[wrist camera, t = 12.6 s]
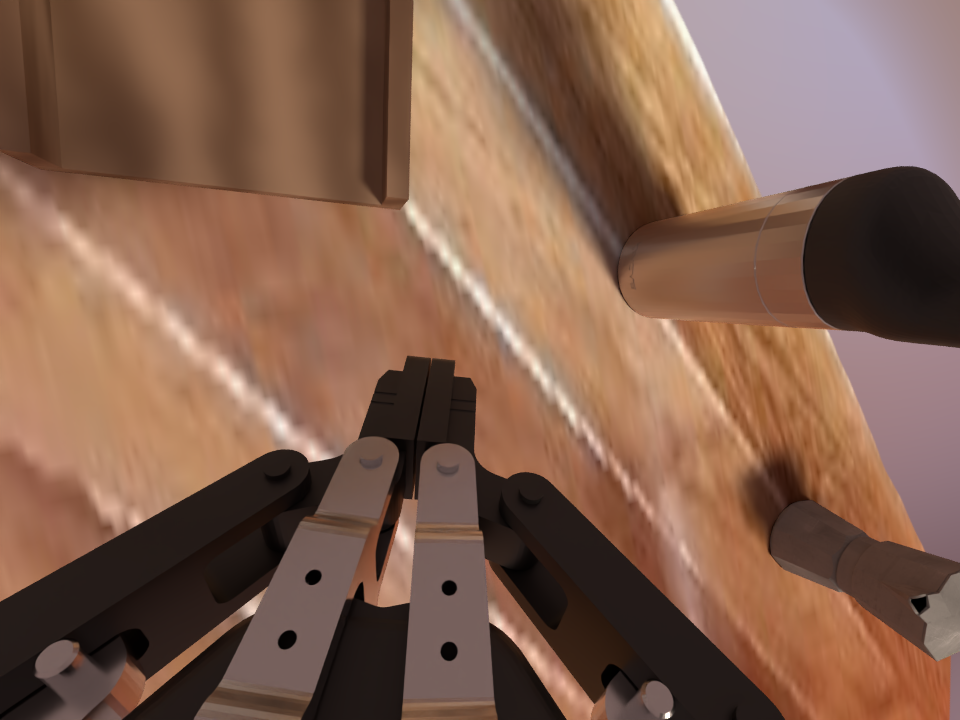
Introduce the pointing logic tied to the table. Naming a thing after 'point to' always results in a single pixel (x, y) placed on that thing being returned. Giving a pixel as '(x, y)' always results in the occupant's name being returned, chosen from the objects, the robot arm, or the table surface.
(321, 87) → the bay
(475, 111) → the table surface
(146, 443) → the table surface
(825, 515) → the coffeepot
